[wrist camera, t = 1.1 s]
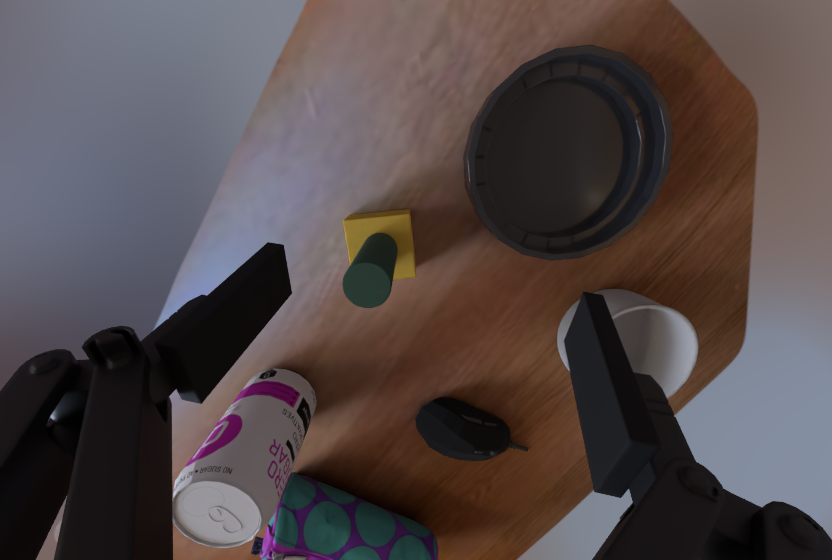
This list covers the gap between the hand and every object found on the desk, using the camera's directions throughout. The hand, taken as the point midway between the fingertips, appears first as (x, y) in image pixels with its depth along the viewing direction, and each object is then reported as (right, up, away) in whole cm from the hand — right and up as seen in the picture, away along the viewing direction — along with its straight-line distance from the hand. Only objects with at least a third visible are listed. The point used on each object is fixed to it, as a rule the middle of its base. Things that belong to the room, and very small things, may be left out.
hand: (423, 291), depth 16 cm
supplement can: (-16, -13, +26) cm, 33 cm away
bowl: (+13, +12, +18) cm, 25 cm away
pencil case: (-8, -29, +32) cm, 44 cm away
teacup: (+20, -6, +24) cm, 31 cm away
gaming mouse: (+7, -17, +28) cm, 34 cm away
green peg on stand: (-4, +4, +20) cm, 21 cm away
